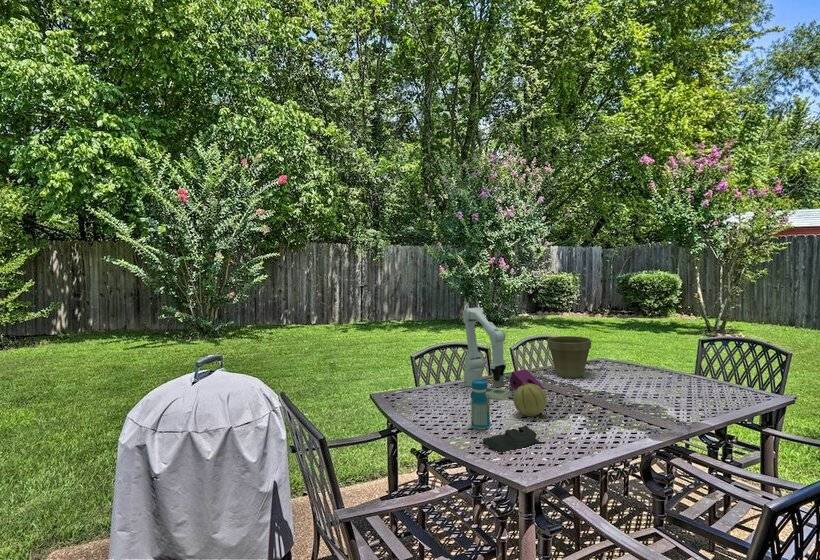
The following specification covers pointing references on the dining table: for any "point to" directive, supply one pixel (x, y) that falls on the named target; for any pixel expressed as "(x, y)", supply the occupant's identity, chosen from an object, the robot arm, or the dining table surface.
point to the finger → (500, 382)
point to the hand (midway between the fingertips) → (498, 379)
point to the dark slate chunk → (512, 439)
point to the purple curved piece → (522, 379)
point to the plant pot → (569, 355)
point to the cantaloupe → (530, 399)
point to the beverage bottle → (480, 405)
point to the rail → (497, 393)
